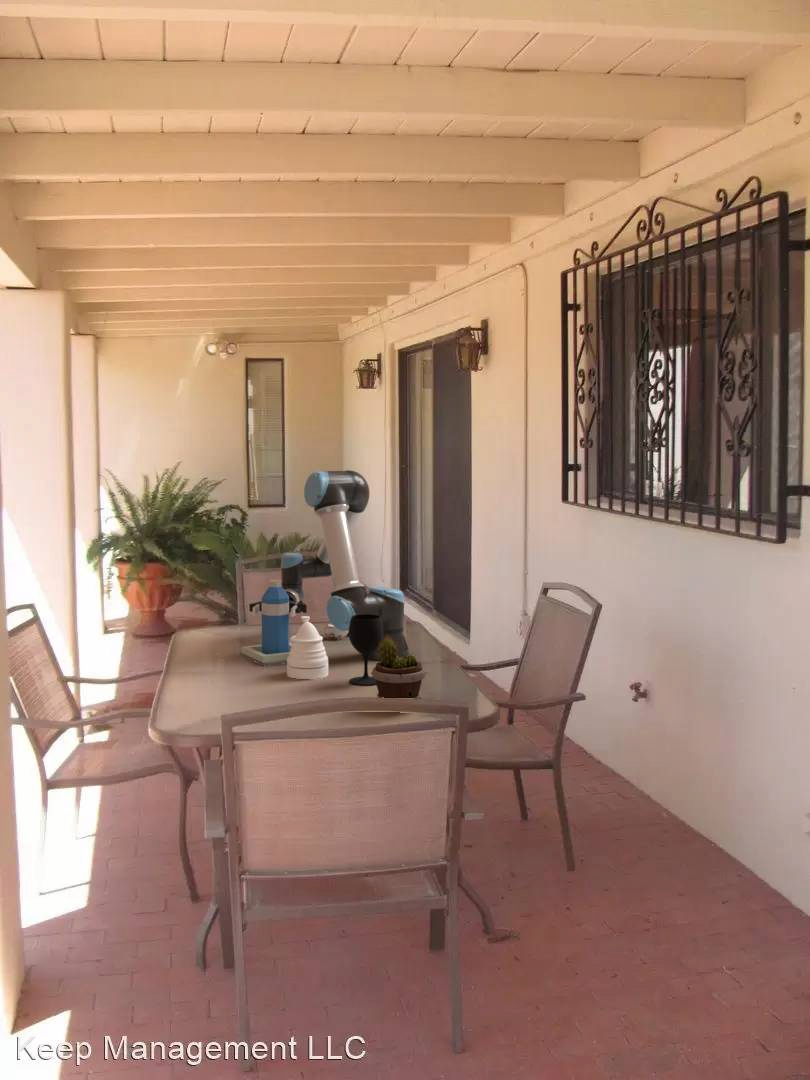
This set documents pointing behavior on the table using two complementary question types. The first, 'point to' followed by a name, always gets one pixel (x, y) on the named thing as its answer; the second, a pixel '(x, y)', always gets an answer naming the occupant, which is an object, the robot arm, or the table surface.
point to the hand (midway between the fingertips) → (272, 612)
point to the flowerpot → (397, 673)
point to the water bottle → (275, 619)
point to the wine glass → (365, 642)
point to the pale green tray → (264, 655)
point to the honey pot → (307, 653)
